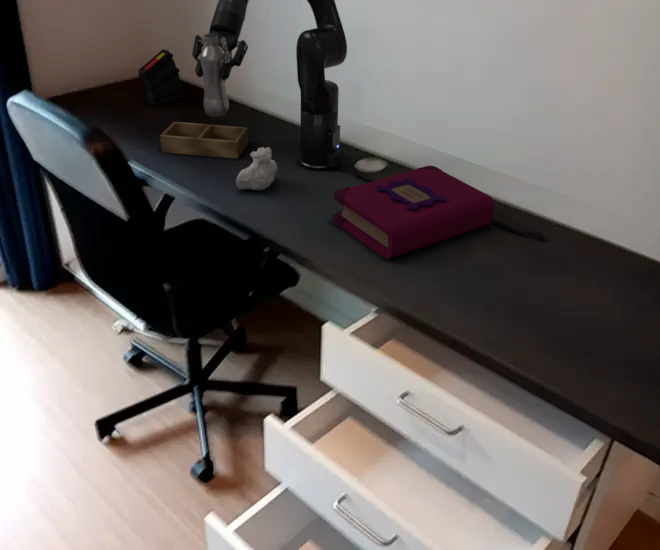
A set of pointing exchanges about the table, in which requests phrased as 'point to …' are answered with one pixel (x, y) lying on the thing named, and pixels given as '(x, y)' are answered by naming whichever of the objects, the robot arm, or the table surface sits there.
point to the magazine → (161, 79)
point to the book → (411, 210)
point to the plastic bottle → (213, 77)
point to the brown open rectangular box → (204, 140)
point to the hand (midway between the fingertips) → (210, 77)
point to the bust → (258, 171)
